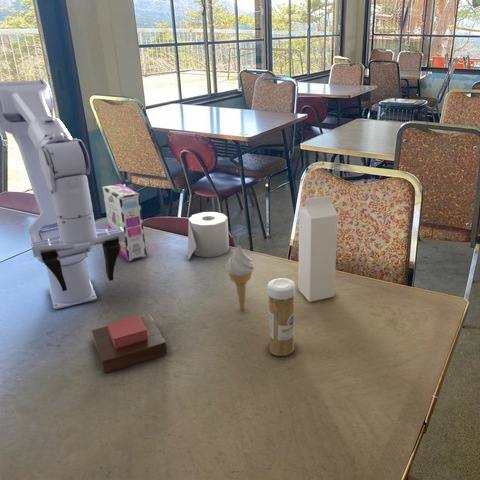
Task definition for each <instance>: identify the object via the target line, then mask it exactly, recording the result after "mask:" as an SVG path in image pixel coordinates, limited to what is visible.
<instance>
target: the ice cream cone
mask: <svg viewBox="0 0 480 480" xmlns="http://www.w3.org/2000/svg"><path fill="white" fill-rule="evenodd" d="M252 262H253V260H252V259H251V258H250V257H249V256H248V255H247V253H246V252H245V251H244V249H243V247H242V246H241V245H240V244H238V246H237V248H236V250H235V251H234V252H233V254H232V255H231V256H230V258H229V260H228V261H226V264H225V266H224V267H225V269H226V273H227V274H228V275H229V279H230V281H232V282H233V283H234V284H235V287H236V293H237V299H238V303H239V309H240V312H241V313H244V312H245V304H246V292H247V283H248V281H250V280H251V278H252V274H253V272H254V271H255V264H254V263H252Z"/></svg>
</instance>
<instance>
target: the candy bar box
mask: <svg viewBox="0 0 480 480" xmlns="http://www.w3.org/2000/svg"><path fill="white" fill-rule="evenodd" d="M101 188H102V193H103V194H102V195H103V201H104V207H105V213H106V220H107V226H108V229H114V228H122V229H123V230H124V235H125V241H119V243H120V246H121V248H120V252H119V254H118V255H120V256H122V257H123V258H124V259H125V260H126V261H127V262H132V261H135V260H140V259H143V258H146V257H148V254H147V247H146V239H145V229H144V222H143V212H142V204H141V196H140V193H139V192H137V191H134V190H132V189H131V188H129V187H127V186H126V185H124V184H122V183H117V184H116V183H115V184H112V185H105V186H102V187H101Z"/></svg>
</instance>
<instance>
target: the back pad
mask: <svg viewBox="0 0 480 480" xmlns="http://www.w3.org/2000/svg"><path fill="white" fill-rule="evenodd" d="M140 317H141V316H140V314H138V315H134V316H131V317H130V316H129V317H127V318H123V319H118V320H115V321H112V322H108V323H106V324H107V325H106V326H108V331H109V334H110V337H111V339H112V342H113V344H114V347H115V349H116V348H120V347H123V346H127V345H130V344H134V343H137V342H140V341H144V340H147V339H148V336H147V329H146V328H145V326H144V324H143V322H142V320H141V318H140Z"/></svg>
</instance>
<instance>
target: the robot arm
mask: <svg viewBox="0 0 480 480" xmlns="http://www.w3.org/2000/svg"><path fill="white" fill-rule="evenodd" d="M54 106H55V105H54V96H53V92H52V89H51V87H50V85H49V83H48V82H47V81H46V80H45V79H43V78H42V79H41V78H40V79H39V80H11V81H0V131H3V132H5V133H8V134H11V136H12V137H13V139H14V141H15V143H16V144H17V147H18V149H19V152H20V156H21V159H22V161H23V165H24V167H25V171H26V174H27V178H28V180H29V183H30V186H31V189H32V192H33V195H34V198H35V202H36V205H37V208H38V211H39V215H38V216H37V217H36V218H35V219H34V220H33V221H32V222H31V223H30V225H29V228H28V233H29V235H30V240H31V241H30V242H31V243H30V246H31V250H32V255H33V258H36V260H37V261H38V262H39V263H41V264H44V265H45V266H46V271H47V275H48V280H49V284H50V287H48V291H49V294H50V298H51V303H52V307H53V309H54V310H59V309H63V308H68V307H71V306H77V305H80V304H85V303H88V302H93V301H96V300H97V298H98V297H97V294H96V291H95V290H94V287H93V284H92V282H91V279H90V274H89V268H88V263H87V258H89V256H88V255H89V254H88V253H91V251H92V248H93V246H96V245H100V244H101V245H102V250H103V256H104V264H105V272H106V277H107V279H108V281H109V282H110V281H114V271H115V267H116V262H117V259H118V256H119V255H120V254H119V252H120V248H121V246H120V243H119V241H125V235H124V230H123V229H122V228H114V229H109V228H97V227H96V222H95V215H94V210H93V203H92V197H91V193H90V192H91V191H90V187H89V180H88V176H87V175H90V173H91V160H90V156H89V153H88V150H87V148H86V145H85V143H84V142H83V140H82V139H80V138H79V139H77V138H73V137H72V136H71V134H70V132H69V131H68V129H67V128H66V126H65V125H64V123H63V122H62V121H61V120H60V119H59V118H57V117H55V116H54Z"/></svg>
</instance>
